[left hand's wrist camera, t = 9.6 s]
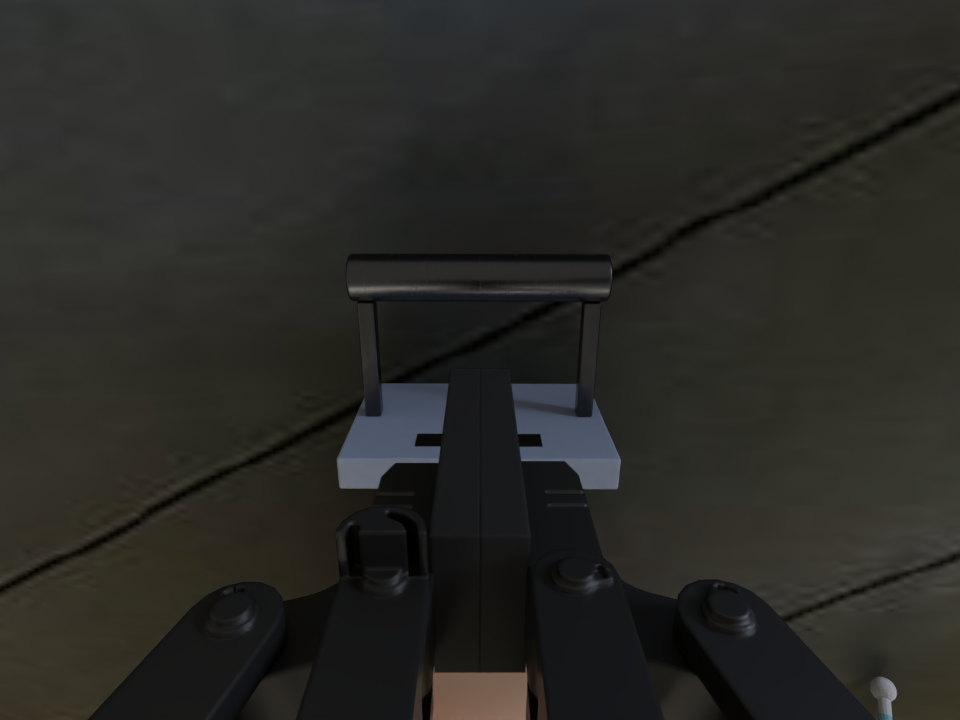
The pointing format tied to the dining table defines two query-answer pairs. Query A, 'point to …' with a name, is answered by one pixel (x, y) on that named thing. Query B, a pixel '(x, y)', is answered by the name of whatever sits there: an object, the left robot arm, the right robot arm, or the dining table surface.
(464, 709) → the cabinet
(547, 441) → the drawer
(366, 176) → the dining table surface
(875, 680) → the molecular model
